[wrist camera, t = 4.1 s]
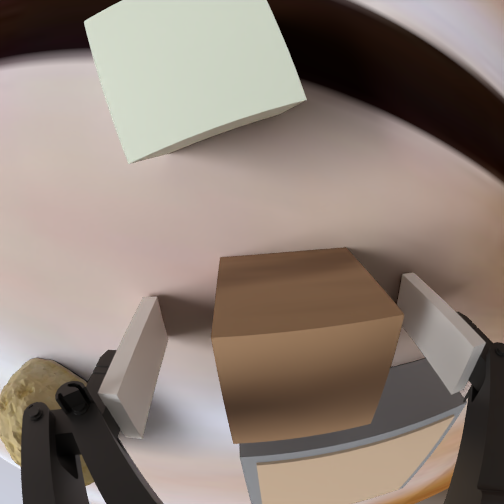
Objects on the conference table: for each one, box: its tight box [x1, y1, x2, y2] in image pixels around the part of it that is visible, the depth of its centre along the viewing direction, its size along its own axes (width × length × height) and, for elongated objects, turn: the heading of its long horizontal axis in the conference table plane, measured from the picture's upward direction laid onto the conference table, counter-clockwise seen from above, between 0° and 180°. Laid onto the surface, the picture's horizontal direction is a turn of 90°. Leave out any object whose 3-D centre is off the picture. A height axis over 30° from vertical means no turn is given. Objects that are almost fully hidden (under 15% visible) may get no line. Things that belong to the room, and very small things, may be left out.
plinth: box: [239, 358, 467, 504], centre depth 17 cm, size 14×14×5 cm
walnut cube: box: [211, 247, 404, 444], centre depth 12 cm, size 6×6×6 cm
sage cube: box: [84, 0, 307, 164], centre depth 8 cm, size 5×5×5 cm
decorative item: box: [0, 358, 94, 486], centre depth 15 cm, size 10×10×10 cm
